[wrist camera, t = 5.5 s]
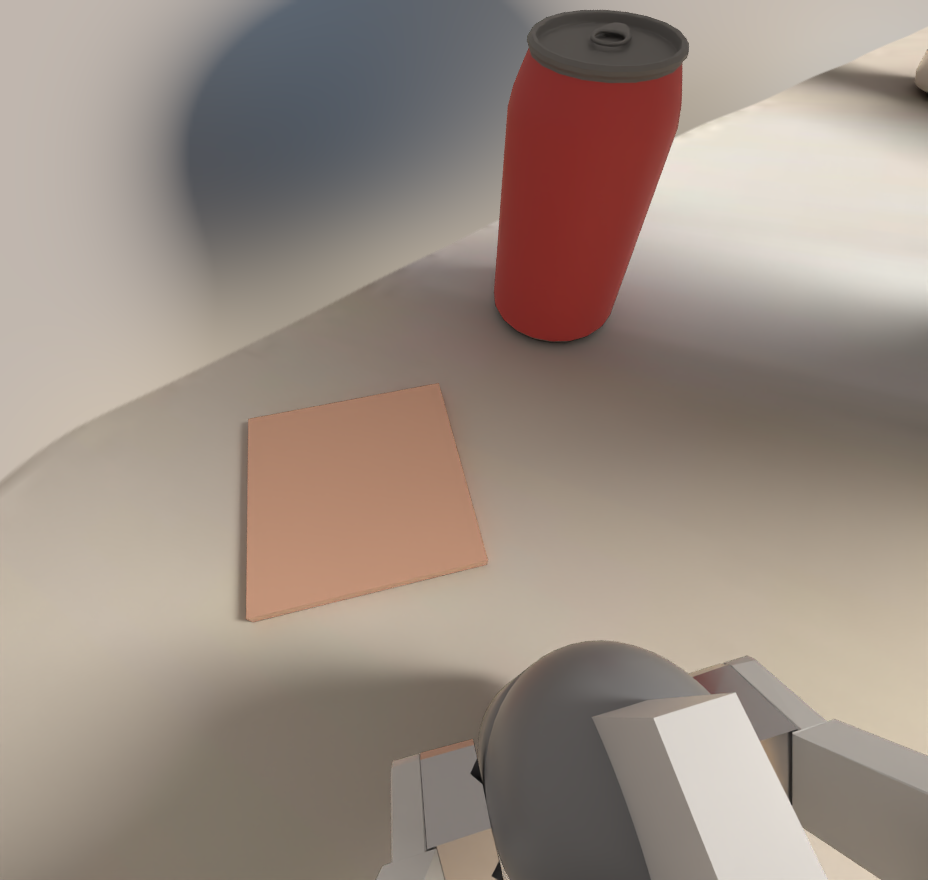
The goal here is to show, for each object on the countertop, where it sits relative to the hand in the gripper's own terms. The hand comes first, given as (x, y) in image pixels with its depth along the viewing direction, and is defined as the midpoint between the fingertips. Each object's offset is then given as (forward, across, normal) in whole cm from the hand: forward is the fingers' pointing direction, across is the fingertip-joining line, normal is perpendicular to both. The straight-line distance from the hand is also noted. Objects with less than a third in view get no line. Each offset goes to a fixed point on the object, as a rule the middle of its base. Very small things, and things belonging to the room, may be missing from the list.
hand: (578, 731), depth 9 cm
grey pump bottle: (+3, 0, +4) cm, 5 cm away
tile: (+12, +4, -2) cm, 13 cm away
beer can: (+19, -8, -8) cm, 22 cm away
